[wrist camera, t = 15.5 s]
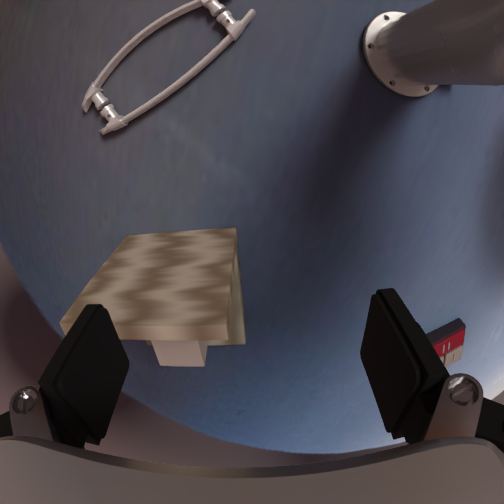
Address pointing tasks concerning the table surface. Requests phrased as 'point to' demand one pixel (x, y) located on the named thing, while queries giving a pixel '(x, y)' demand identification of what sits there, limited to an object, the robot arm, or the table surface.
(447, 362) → the small patterned box
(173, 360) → the pale taupe block
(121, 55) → the door handle
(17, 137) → the table surface
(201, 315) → the beige zigzag bookend
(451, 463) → the robot arm
